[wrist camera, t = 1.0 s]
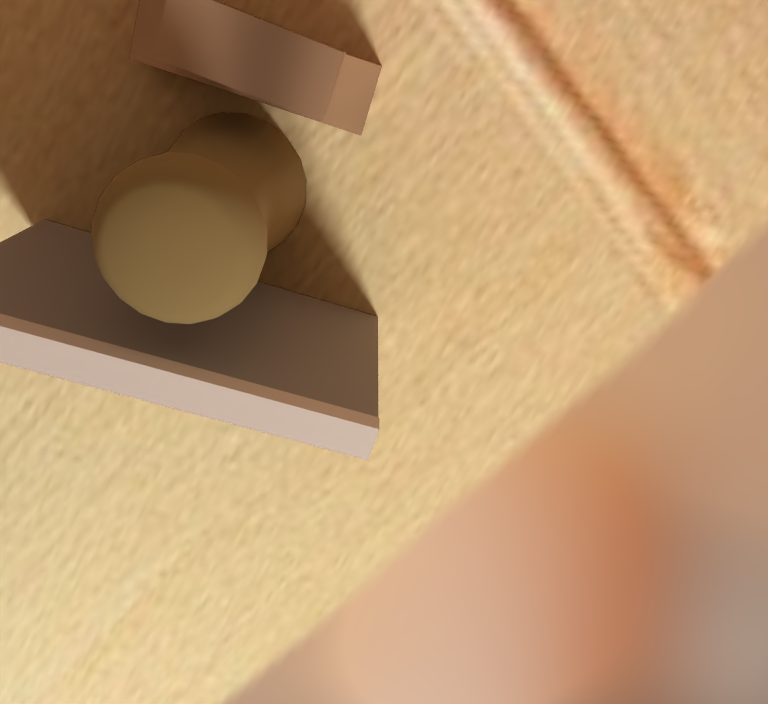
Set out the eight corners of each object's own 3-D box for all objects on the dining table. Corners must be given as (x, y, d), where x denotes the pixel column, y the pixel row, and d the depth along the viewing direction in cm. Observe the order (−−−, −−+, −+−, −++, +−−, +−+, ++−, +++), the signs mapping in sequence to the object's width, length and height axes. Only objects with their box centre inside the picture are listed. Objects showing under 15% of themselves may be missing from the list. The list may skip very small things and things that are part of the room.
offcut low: (148, 57, 29) (129, 58, 27) (161, -12, 28) (142, -17, 26) (362, 128, 30) (360, 135, 28) (381, 65, 30) (381, 66, 27)
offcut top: (171, 57, 27) (152, 57, 25) (188, -11, 26) (169, -17, 24) (325, 116, 28) (320, 121, 26) (345, 52, 27) (342, 52, 25)
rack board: (41, 243, 32) (-112, 332, 22) (45, 217, 31) (-110, 296, 21) (370, 337, 34) (367, 460, 24) (378, 314, 33) (379, 429, 23)
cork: (315, 250, 32) (286, 344, 22) (178, 261, 32) (87, 360, 22) (297, 105, 30) (256, 135, 20) (150, 118, 30) (34, 155, 20)
